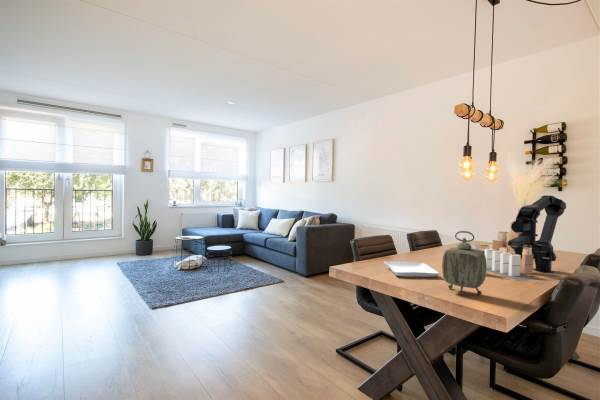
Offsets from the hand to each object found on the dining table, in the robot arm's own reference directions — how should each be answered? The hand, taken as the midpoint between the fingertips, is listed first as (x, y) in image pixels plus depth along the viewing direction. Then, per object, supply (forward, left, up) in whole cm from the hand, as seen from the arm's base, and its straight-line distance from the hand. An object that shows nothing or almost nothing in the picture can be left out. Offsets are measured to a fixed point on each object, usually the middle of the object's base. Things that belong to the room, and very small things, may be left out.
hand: (527, 262), depth 156 cm
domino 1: (+11, -12, -5) cm, 17 cm away
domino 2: (+11, -7, -5) cm, 14 cm away
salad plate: (+58, -12, -6) cm, 60 cm away
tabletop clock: (+55, +21, -6) cm, 59 cm away
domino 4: (+11, +3, -5) cm, 13 cm away
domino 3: (+11, -2, -5) cm, 12 cm away
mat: (+11, -2, -6) cm, 13 cm away
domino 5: (0, 0, -6) cm, 6 cm away
